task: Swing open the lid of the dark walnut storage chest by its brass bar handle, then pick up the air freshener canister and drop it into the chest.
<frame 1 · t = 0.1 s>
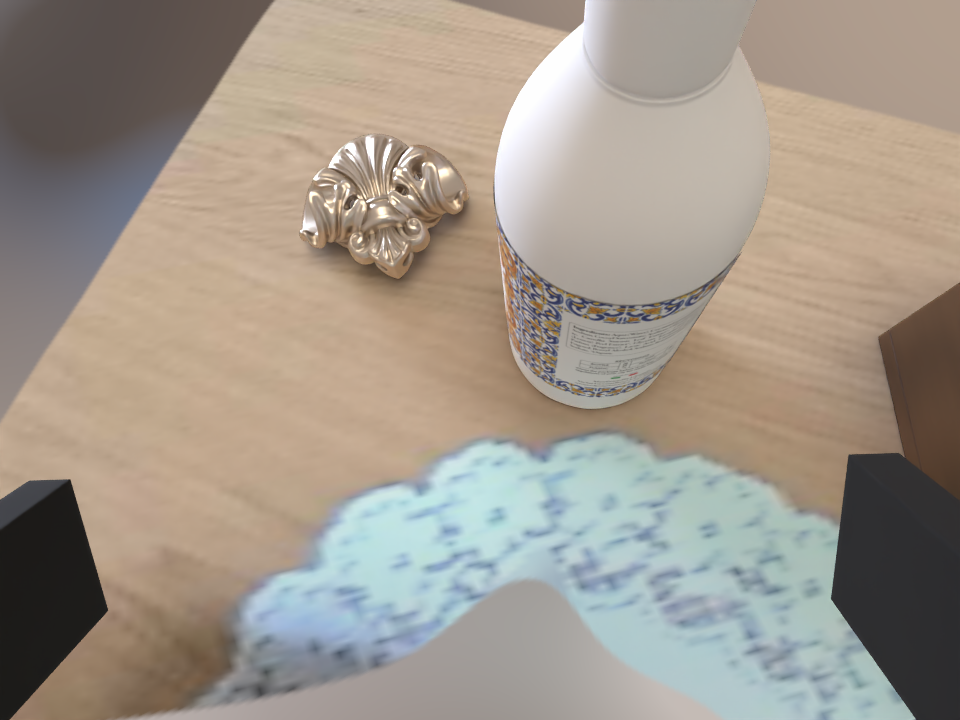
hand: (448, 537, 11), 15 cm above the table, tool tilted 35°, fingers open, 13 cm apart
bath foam: (587, 337, 28), on the table
ornament: (390, 228, 31), on the table
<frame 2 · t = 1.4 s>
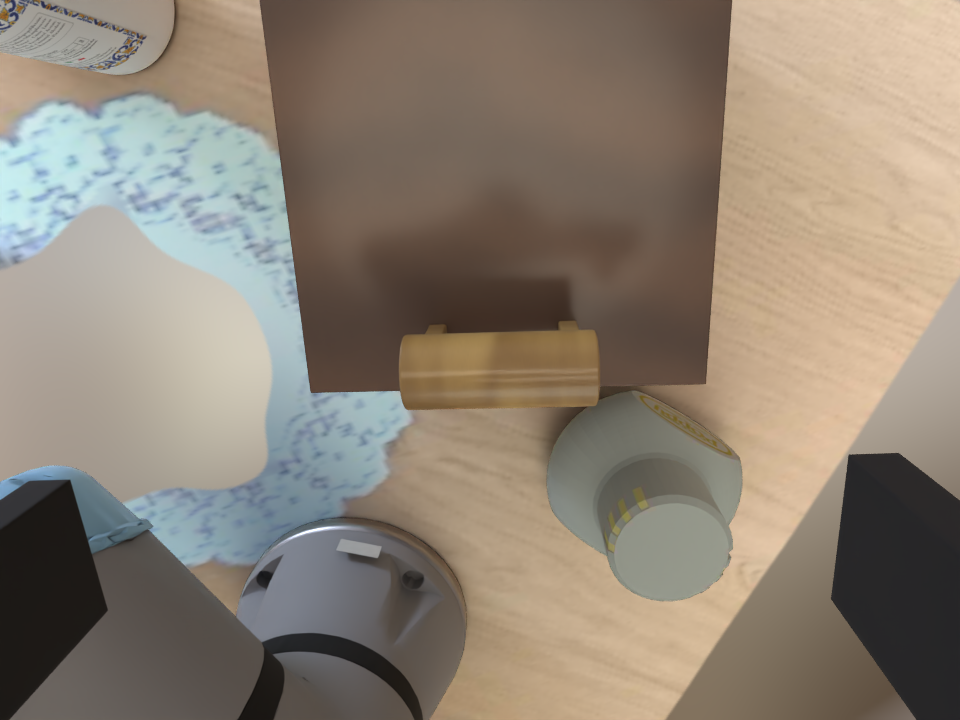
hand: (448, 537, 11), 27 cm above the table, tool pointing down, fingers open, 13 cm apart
chest lid: (495, 172, 20), point 15 cm above the table, hinge at 0.0°
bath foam: (116, 5, 33), on the table
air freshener: (632, 456, 39), on the table
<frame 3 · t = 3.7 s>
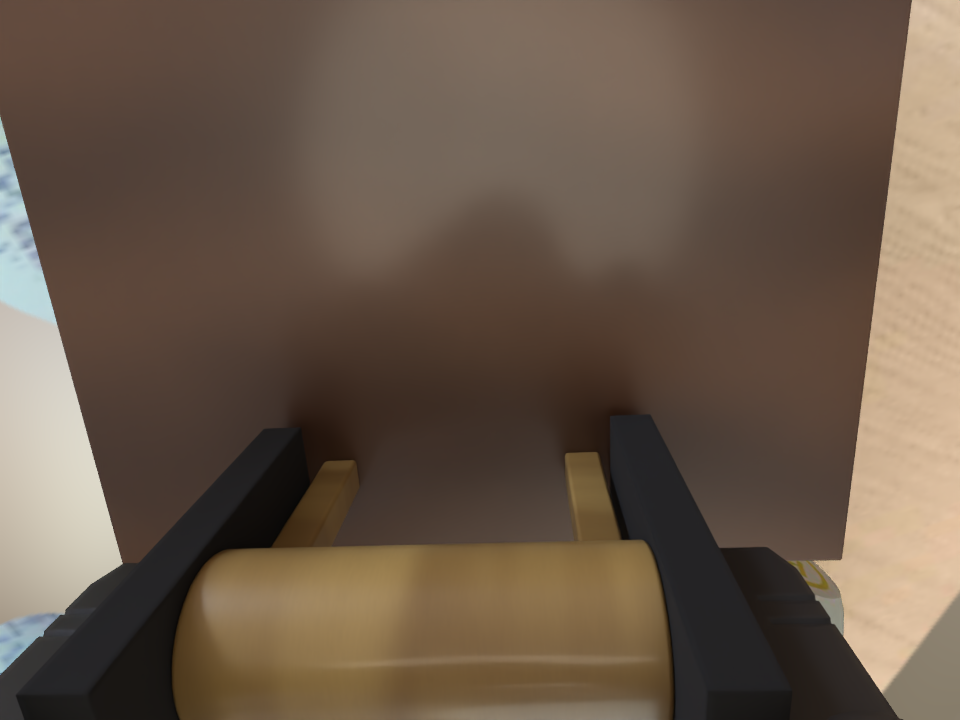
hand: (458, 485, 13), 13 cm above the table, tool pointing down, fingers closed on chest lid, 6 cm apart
chest lid: (413, 176, 9), point 15 cm above the table, hinge at 0.0°, touching gripper
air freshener: (673, 568, 28), on the table
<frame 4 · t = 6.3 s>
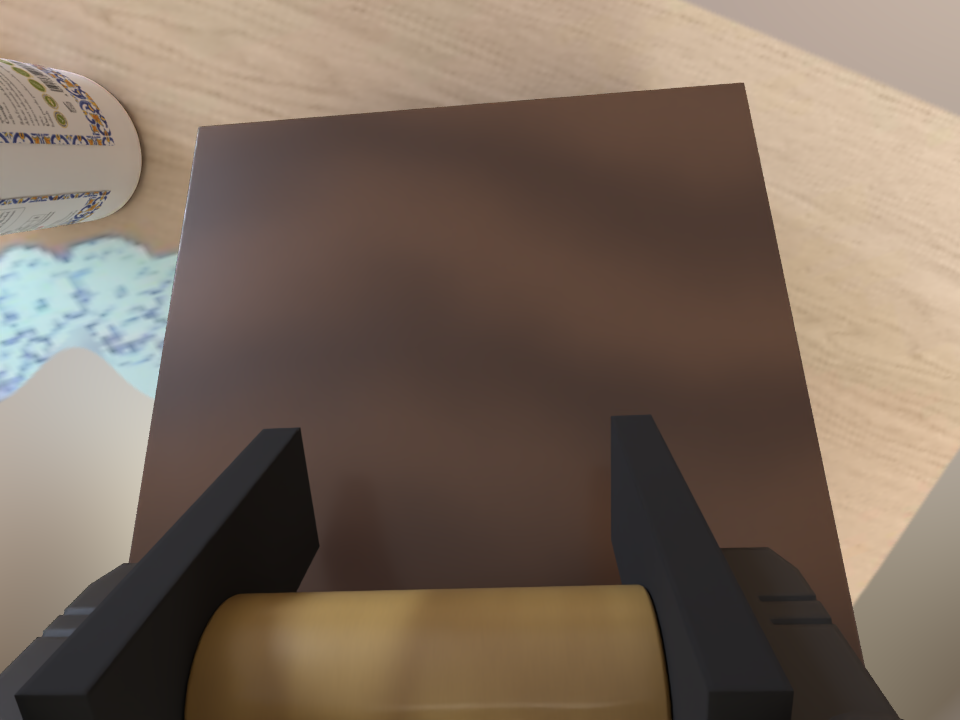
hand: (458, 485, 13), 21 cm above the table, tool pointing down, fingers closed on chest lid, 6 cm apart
chest lid: (452, 341, 13), point 19 cm above the table, hinge at 37.7°, touching gripper
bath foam: (80, 148, 31), on the table
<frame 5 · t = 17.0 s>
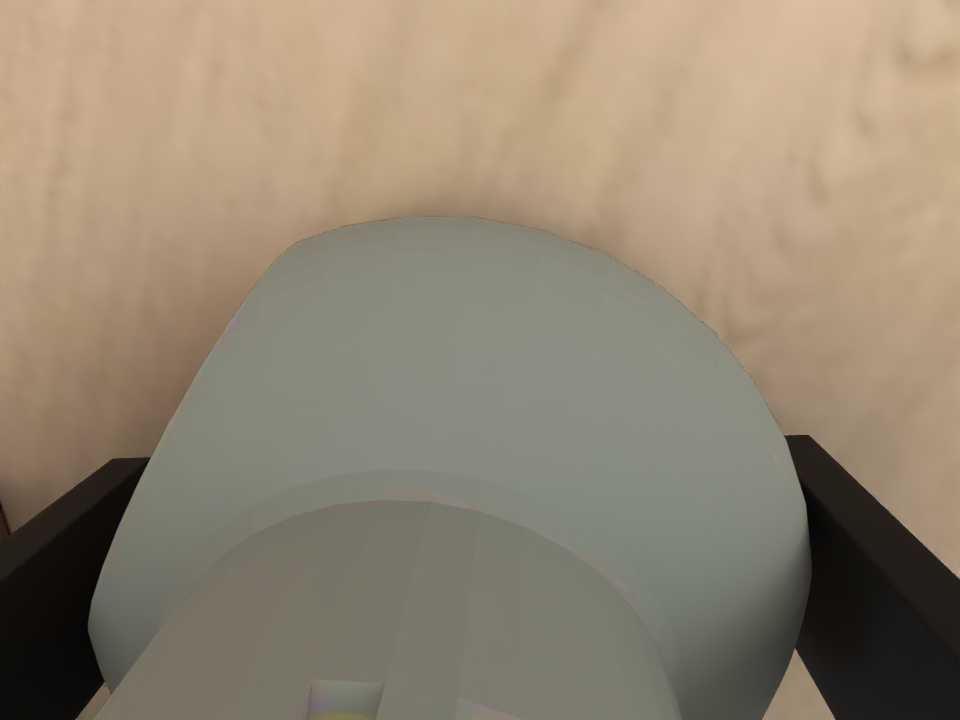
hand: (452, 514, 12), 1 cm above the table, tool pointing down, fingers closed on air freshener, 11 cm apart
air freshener: (460, 472, 13), on the table, touching gripper
when the fingers open (15 cm above the table, at t = 25.9 s): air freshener drops 13 cm, resting on chest.
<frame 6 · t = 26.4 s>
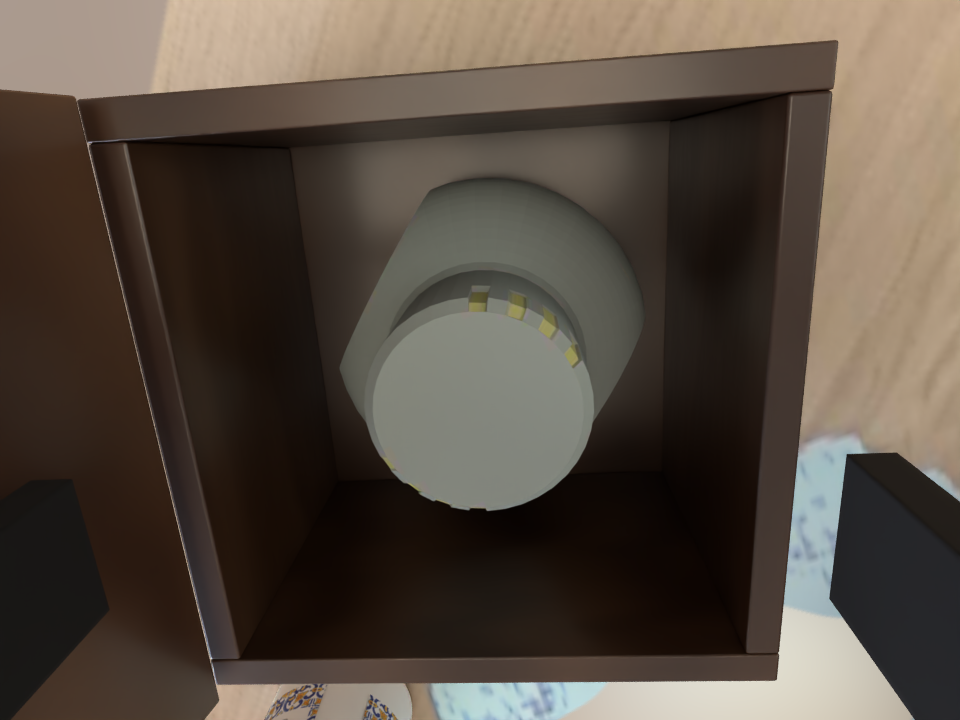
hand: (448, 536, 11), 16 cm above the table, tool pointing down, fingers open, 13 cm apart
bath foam: (349, 694, 33), on the table
chest: (488, 314, 26), on the table
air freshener: (492, 316, 26), point 1 cm above the table, touching chest
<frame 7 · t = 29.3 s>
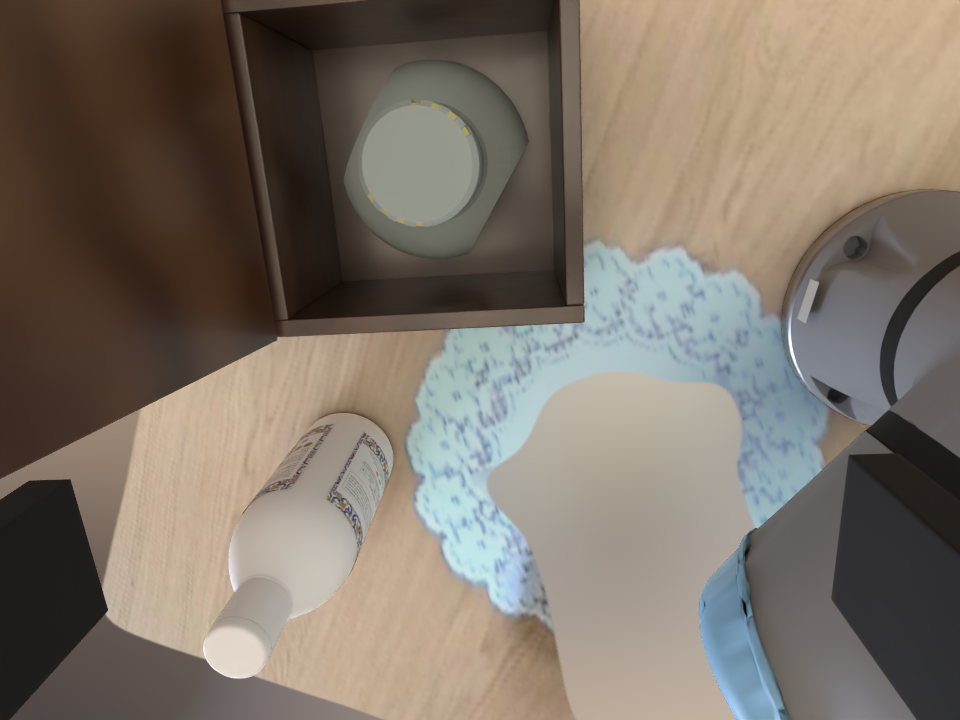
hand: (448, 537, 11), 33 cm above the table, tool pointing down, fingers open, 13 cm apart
chest lid: (32, 193, 23), point 19 cm above the table, hinge at 102.0°
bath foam: (349, 452, 47), on the table
chest: (440, 164, 40), on the table
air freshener: (441, 163, 40), point 1 cm above the table, touching chest
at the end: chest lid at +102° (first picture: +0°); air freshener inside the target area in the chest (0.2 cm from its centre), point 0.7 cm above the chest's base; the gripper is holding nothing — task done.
